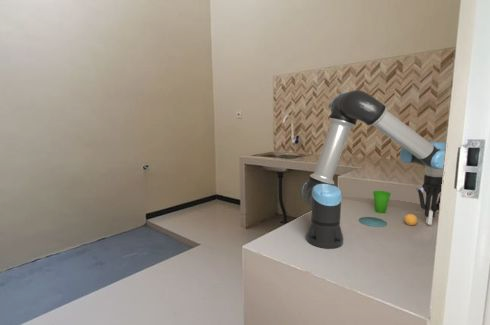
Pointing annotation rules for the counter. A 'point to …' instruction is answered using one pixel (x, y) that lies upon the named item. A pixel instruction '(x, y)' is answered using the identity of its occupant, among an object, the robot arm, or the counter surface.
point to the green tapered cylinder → (381, 201)
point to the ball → (410, 219)
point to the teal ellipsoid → (372, 221)
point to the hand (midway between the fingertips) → (428, 223)
